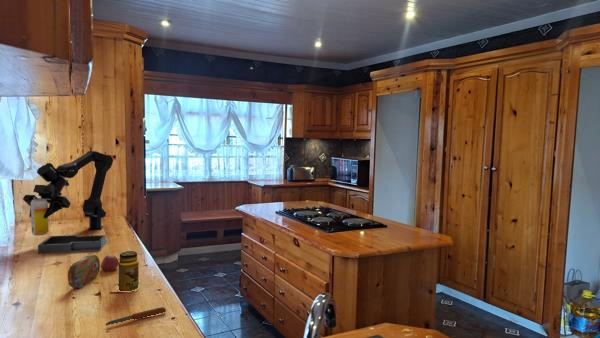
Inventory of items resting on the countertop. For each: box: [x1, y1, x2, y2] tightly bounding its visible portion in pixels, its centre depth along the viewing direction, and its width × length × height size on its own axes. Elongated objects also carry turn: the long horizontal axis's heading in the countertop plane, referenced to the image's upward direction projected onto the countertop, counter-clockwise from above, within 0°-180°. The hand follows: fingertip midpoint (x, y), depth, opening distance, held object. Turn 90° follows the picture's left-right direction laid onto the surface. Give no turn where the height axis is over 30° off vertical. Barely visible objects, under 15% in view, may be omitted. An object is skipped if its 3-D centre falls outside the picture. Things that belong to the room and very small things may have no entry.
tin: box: [67, 254, 101, 289], centre depth 130 cm, size 15×3×8 cm, turn 179°
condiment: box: [114, 250, 142, 291], centre depth 126 cm, size 7×8×12 cm
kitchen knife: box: [105, 306, 167, 326], centre depth 106 cm, size 16×1×2 cm, turn 127°
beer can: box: [30, 199, 50, 237], centre depth 166 cm, size 6×6×15 cm
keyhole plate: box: [37, 234, 108, 255], centre depth 168 cm, size 15×23×4 cm, turn 107°
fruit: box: [100, 254, 120, 273], centre depth 143 cm, size 6×6×8 cm
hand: (37, 217), depth 165 cm, fingers closed on beer can, 6 cm apart
